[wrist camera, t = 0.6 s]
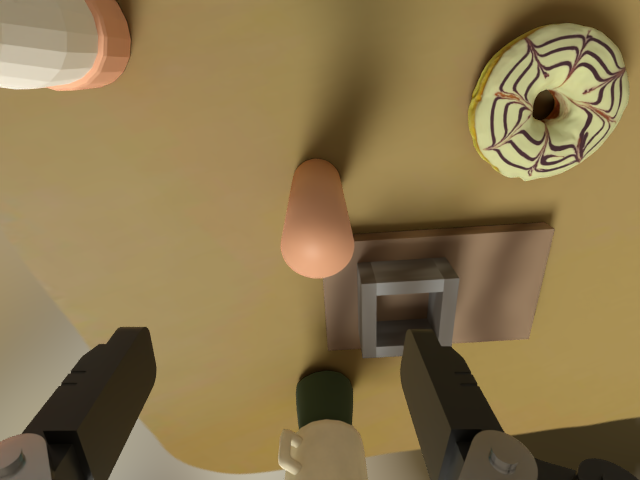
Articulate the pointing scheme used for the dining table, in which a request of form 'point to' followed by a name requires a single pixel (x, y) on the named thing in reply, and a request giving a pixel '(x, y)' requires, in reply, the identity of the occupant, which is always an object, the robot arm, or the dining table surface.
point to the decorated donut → (567, 90)
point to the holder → (437, 286)
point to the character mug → (323, 432)
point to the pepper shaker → (62, 44)
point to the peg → (317, 222)
